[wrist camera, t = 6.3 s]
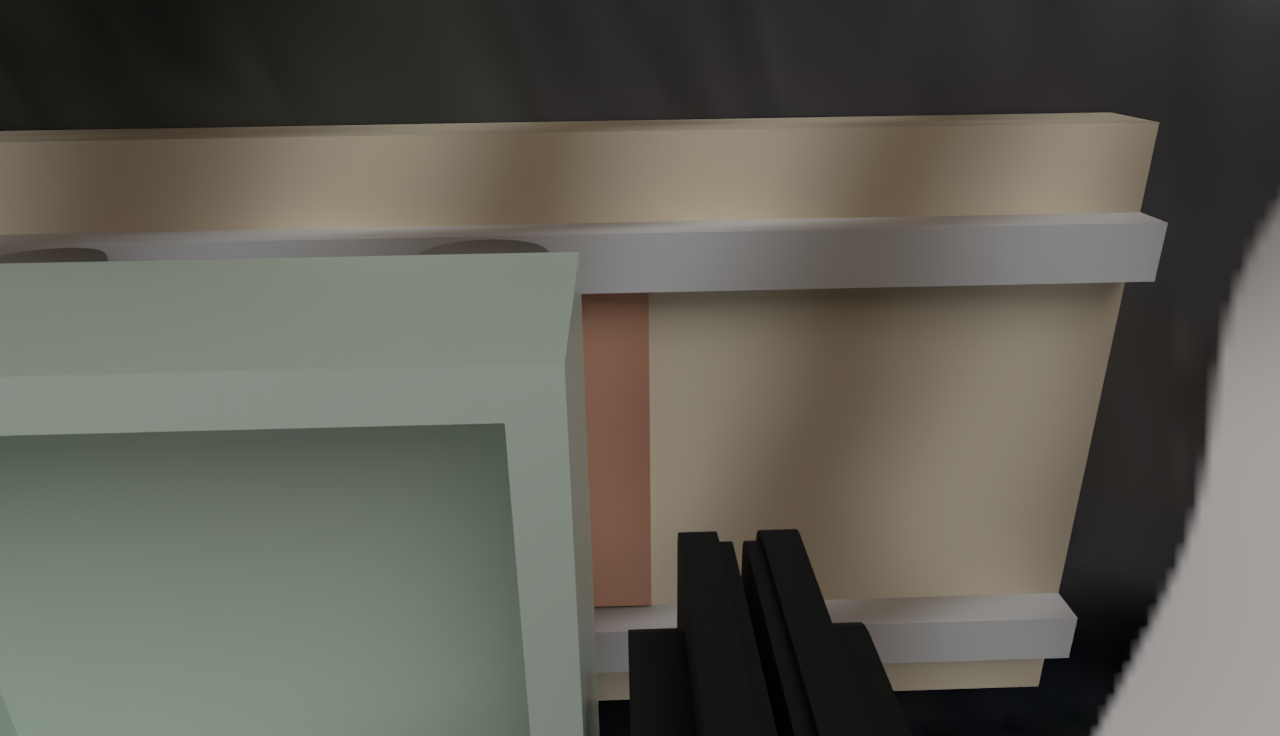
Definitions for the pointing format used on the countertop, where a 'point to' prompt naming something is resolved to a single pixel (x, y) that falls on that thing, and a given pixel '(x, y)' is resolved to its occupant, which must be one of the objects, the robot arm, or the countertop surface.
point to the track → (735, 327)
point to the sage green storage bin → (295, 495)
